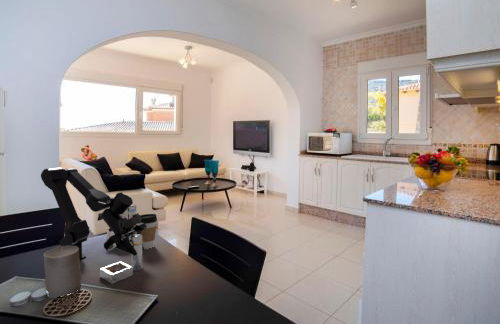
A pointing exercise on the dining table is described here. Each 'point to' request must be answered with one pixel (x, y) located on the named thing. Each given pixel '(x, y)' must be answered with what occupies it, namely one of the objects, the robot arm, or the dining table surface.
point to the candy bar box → (129, 213)
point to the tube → (137, 245)
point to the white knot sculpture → (112, 235)
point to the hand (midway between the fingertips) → (139, 252)
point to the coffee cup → (148, 230)
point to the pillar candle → (62, 270)
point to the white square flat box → (116, 272)
